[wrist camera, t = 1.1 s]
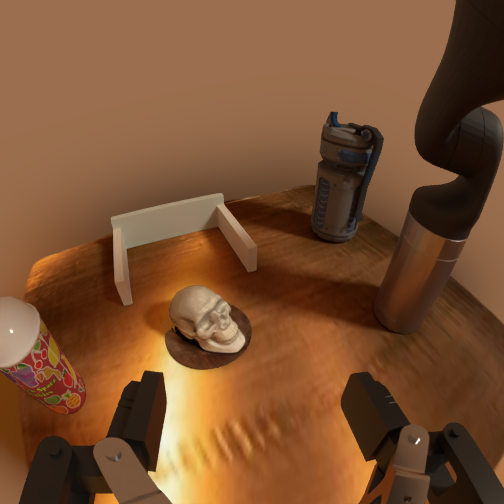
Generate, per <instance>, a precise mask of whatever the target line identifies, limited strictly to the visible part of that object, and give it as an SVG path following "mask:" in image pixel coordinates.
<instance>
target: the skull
mask: <svg viewBox="0 0 504 504" xmlns="http://www.w3.org/2000/svg"><path fill="white" fill-rule="evenodd" d="M169 315H170V318H171V320H172V322H173V323H174V324H175V331H176V332H175V331H174V330H173V328H171V330H170V331H168V333H166V335H165V341H166V346H167V348H168V351H169V352H170V354H171V355H172V356H173V357H174V358H175V359H176V360H177V361H179V362H180V363H182V364H184V365H186V366H189V367H192V368H197V369H212V368H219V367H221V366H224V365H227V364H228V363H230V362H232V361H234V360H235V359H237V358H238V357H239V356H240V355H241V354H242V353H243V352H244V351H245V350H246V348H247V347H248V345H249V343H250V339H251V325H250V322H249V320H248V318H247V317H246V315H245V314H244V313H243V312H242V311H241V310H240V309H238V308H237V307H235V306H233V305H230V304H228V303H226V302H225V301H223V299H222V297H221V296H220V295H218V294H216V293H214V292H213V291H211V290H210V289H209V288H207V287H205V286H200V285H195V286H189V287H186V288H184V289H182V290H180V291H179V292H178V293H176V295H175V296H174V298H173V300H172V302H171V305H170V309H169Z"/></svg>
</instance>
